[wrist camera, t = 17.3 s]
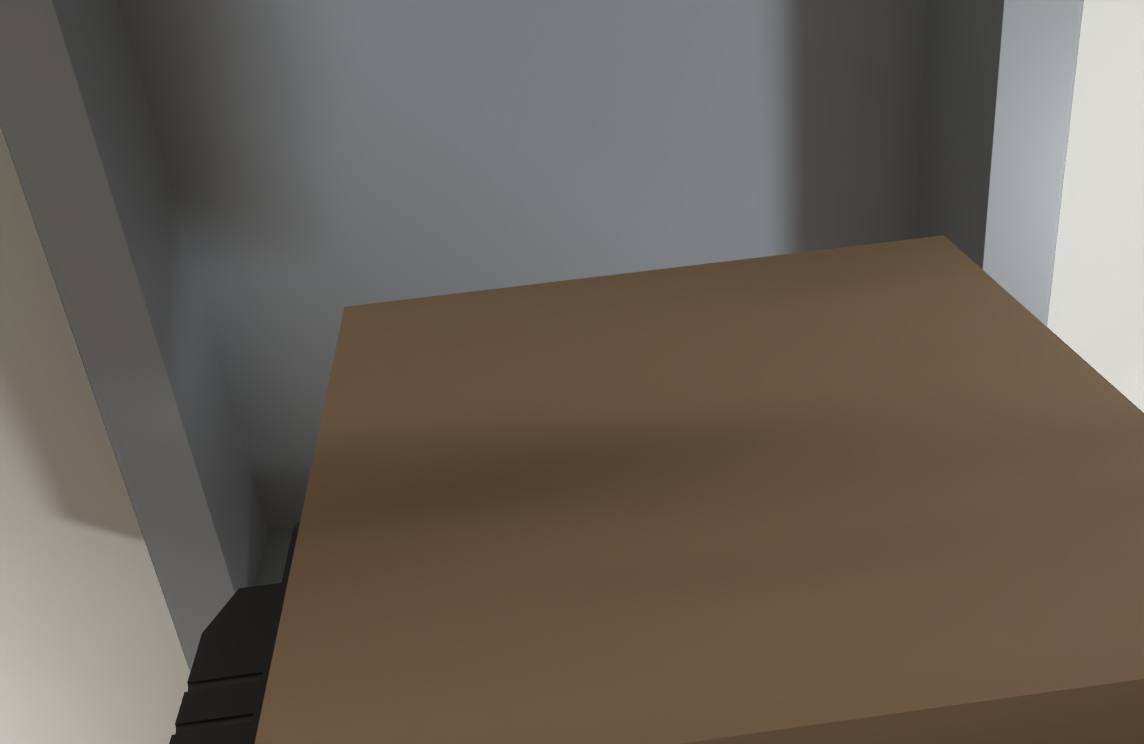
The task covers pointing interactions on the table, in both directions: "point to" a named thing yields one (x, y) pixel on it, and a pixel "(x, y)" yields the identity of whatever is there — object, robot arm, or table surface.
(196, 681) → the robot arm
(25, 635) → the table surface
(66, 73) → the collection tray
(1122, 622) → the walnut cube
